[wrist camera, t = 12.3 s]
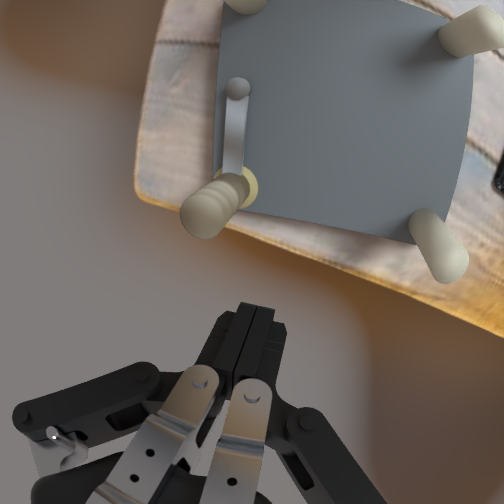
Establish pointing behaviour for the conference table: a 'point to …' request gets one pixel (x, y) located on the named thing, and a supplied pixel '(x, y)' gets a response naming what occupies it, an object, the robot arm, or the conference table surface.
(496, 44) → the grey square base plate
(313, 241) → the conference table surface
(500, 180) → the phone
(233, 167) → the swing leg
